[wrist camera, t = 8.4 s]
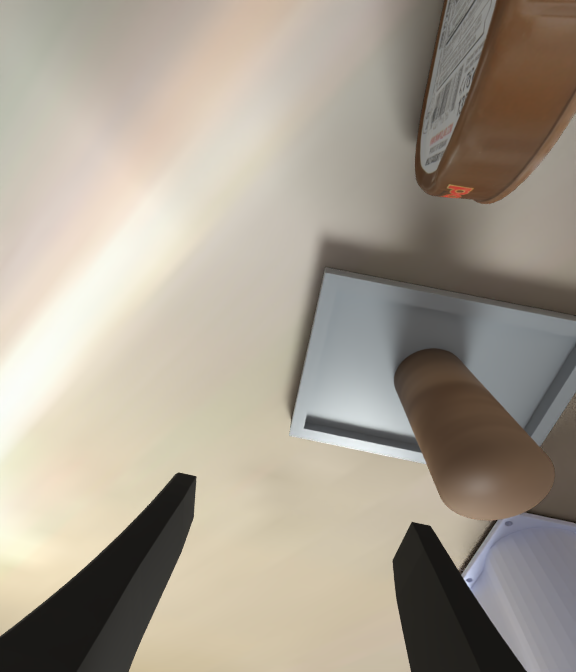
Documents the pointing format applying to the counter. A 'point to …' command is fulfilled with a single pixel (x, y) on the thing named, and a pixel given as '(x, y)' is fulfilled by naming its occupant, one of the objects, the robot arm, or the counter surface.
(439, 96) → the tin
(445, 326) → the tray
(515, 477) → the brown rounded cylinder
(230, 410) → the counter surface
